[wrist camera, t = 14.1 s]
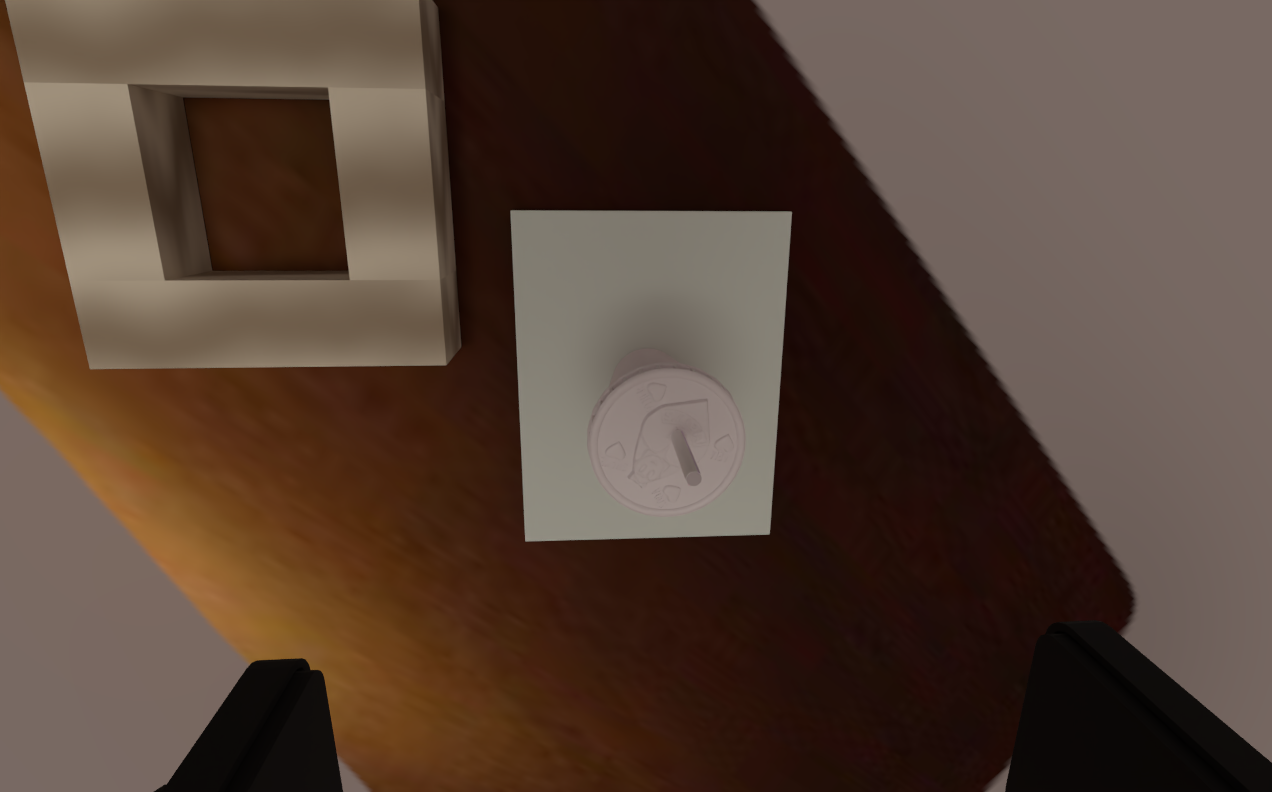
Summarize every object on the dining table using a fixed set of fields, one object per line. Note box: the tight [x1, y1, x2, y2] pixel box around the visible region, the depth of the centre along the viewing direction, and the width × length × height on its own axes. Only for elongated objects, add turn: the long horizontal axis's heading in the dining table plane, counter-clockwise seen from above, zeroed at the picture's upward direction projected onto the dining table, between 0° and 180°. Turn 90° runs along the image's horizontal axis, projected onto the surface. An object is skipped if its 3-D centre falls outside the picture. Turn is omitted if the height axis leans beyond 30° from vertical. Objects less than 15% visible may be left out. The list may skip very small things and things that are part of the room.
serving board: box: [511, 210, 792, 541], centre depth 37 cm, size 18×14×1 cm
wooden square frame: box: [5, 0, 461, 369], centre depth 31 cm, size 16×16×4 cm
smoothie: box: [587, 348, 746, 517], centre depth 29 cm, size 6×6×14 cm
